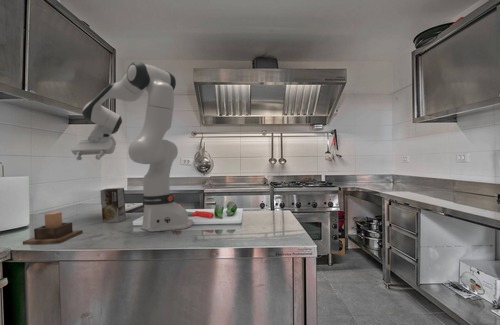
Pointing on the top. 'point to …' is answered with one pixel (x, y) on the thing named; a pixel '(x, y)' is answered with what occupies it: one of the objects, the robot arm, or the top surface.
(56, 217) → the block
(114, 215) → the coffee box
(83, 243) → the top surface
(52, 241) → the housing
